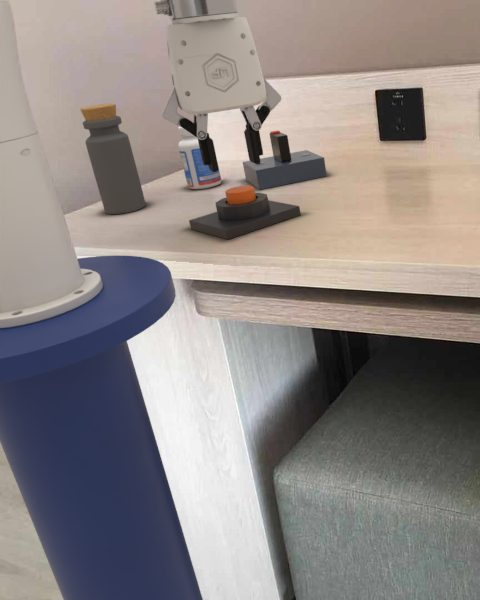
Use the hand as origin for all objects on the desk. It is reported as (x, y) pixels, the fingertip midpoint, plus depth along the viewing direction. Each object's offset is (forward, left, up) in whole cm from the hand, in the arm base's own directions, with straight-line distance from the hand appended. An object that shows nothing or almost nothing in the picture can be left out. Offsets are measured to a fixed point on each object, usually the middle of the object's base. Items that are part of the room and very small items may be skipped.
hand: (234, 164), depth 85 cm
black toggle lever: (+18, +16, -4) cm, 24 cm away
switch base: (0, 0, -7) cm, 7 cm away
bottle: (-5, +25, -8) cm, 27 cm away
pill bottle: (+9, +26, -8) cm, 29 cm away
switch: (0, 0, -5) cm, 5 cm away
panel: (+18, +16, -7) cm, 25 cm away
